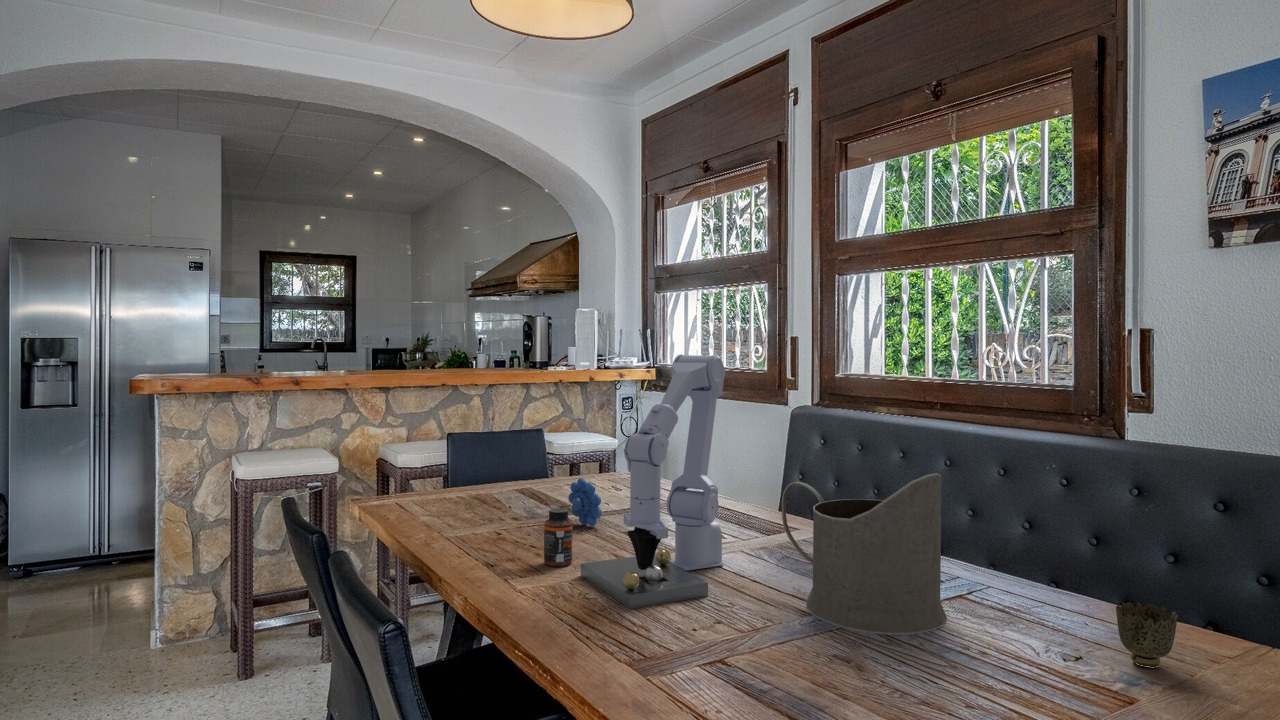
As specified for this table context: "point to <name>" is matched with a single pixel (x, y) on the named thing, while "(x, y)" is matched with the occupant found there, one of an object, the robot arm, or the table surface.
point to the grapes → (585, 502)
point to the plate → (643, 582)
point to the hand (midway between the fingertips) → (644, 568)
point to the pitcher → (877, 560)
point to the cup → (1146, 632)
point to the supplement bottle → (558, 538)
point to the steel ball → (653, 574)
